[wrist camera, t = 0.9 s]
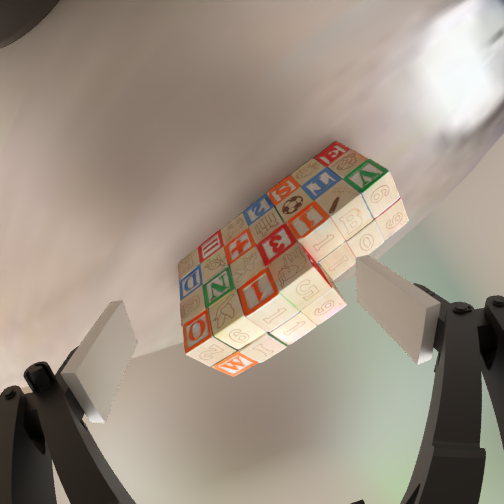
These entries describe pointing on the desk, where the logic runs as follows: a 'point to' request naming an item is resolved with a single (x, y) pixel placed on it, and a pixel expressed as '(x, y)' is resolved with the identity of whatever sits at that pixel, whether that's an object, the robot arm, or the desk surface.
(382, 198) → the stack of blocks
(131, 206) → the desk surface
